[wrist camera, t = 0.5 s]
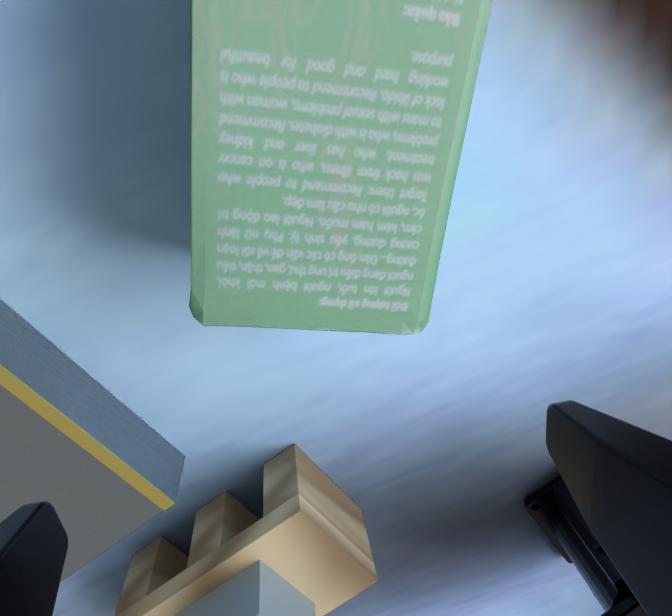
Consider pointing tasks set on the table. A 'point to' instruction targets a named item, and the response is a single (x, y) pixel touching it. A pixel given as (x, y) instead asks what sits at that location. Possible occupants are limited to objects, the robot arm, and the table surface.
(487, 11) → the box
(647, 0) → the table surface
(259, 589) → the grey blue block
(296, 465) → the tan stepped block
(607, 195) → the table surface
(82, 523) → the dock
